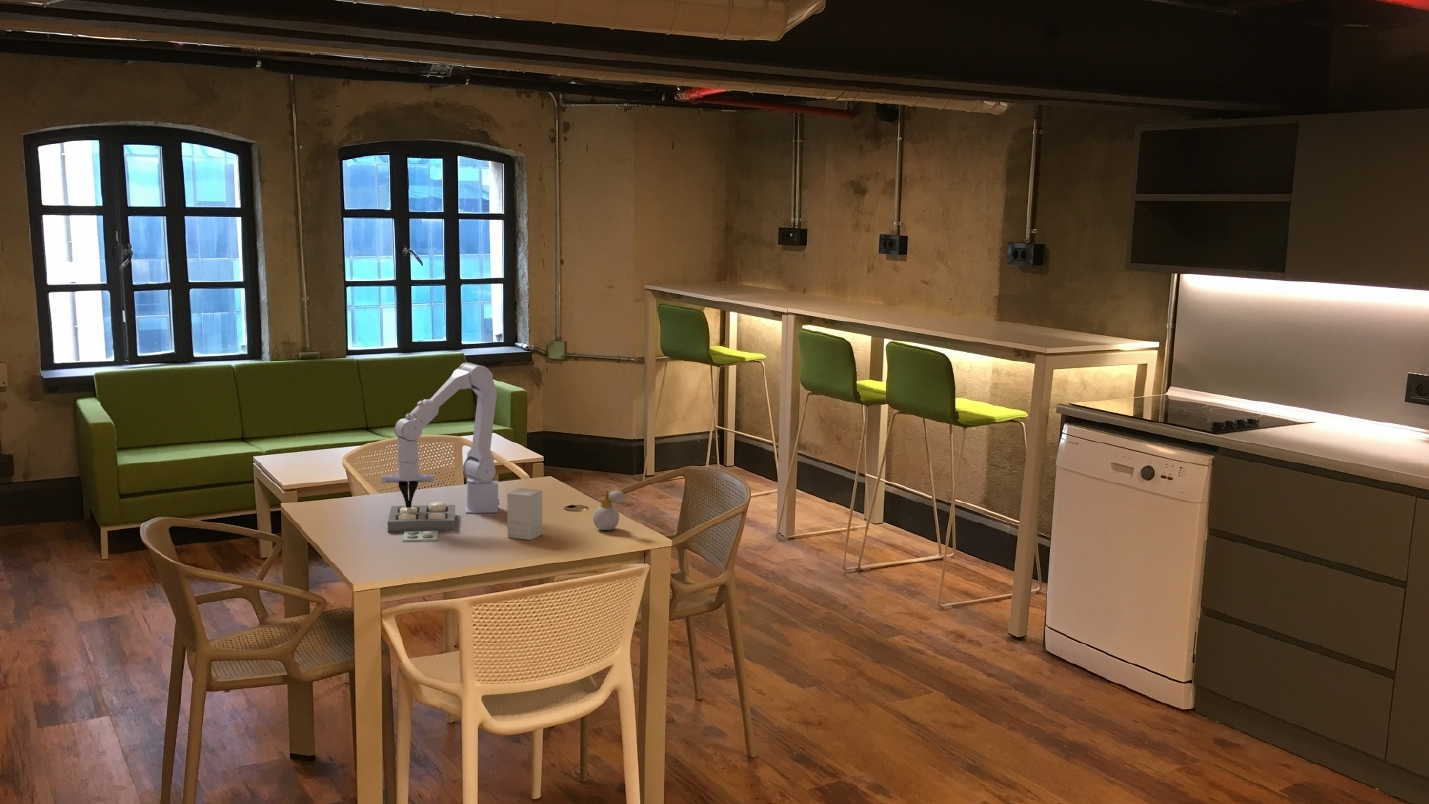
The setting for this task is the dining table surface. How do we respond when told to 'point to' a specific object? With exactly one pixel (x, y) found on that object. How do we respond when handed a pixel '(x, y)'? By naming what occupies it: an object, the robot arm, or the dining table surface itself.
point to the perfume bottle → (608, 511)
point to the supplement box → (524, 513)
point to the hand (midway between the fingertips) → (408, 507)
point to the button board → (421, 520)
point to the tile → (420, 536)
